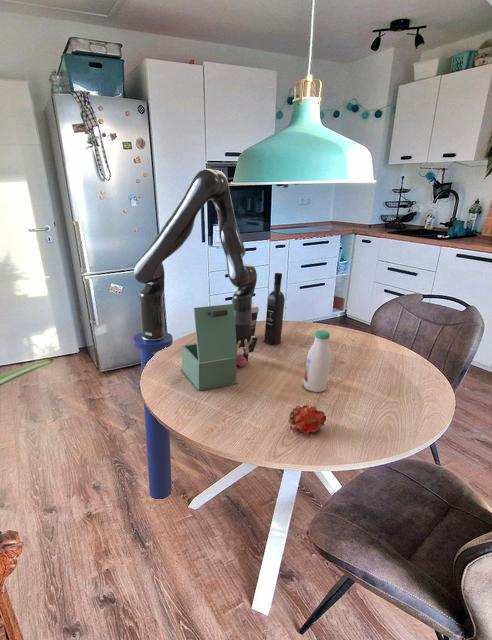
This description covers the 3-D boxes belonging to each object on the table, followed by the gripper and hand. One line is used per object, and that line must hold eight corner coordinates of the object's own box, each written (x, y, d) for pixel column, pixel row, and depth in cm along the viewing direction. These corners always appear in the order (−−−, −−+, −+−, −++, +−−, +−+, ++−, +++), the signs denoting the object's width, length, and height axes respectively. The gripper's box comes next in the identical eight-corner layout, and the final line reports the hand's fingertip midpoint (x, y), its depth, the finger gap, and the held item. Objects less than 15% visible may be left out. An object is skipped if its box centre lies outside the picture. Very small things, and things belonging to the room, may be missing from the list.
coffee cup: (233, 339, 170) (234, 306, 164) (239, 332, 179) (240, 301, 172) (254, 342, 168) (256, 309, 162) (259, 335, 176) (261, 303, 170)
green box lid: (193, 307, 120) (199, 308, 116) (232, 303, 126) (239, 304, 121) (198, 362, 124) (204, 364, 119) (236, 356, 129) (243, 358, 124)
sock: (229, 360, 150) (230, 351, 148) (238, 359, 151) (239, 349, 150) (238, 369, 143) (239, 359, 142) (248, 367, 145) (249, 357, 143)
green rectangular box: (182, 370, 141) (181, 345, 137) (216, 364, 146) (216, 340, 142) (198, 390, 127) (198, 363, 123) (235, 383, 133) (236, 357, 129)
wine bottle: (272, 345, 165) (279, 275, 153) (263, 341, 169) (268, 273, 157) (281, 342, 169) (288, 273, 157) (271, 338, 173) (277, 271, 160)
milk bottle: (330, 387, 133) (339, 332, 124) (319, 395, 127) (327, 338, 119) (310, 379, 137) (317, 326, 129) (299, 387, 132) (305, 332, 124)
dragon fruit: (282, 436, 108) (319, 435, 112) (298, 435, 100) (336, 434, 104) (280, 406, 110) (316, 406, 114) (295, 403, 102) (333, 403, 106)
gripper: (253, 315, 146) (250, 357, 153) (218, 319, 140) (217, 362, 148) (263, 321, 140) (260, 364, 147) (227, 326, 134) (226, 370, 141)
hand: (238, 363), depth 147 cm, fingers open, 4 cm apart
